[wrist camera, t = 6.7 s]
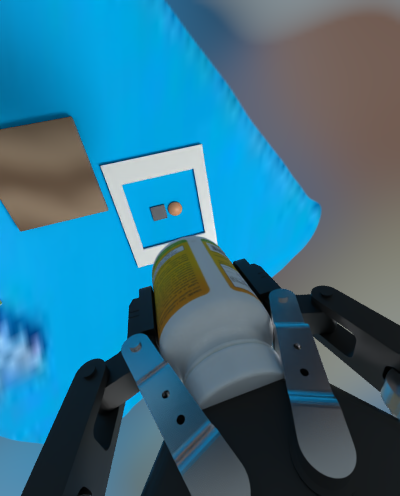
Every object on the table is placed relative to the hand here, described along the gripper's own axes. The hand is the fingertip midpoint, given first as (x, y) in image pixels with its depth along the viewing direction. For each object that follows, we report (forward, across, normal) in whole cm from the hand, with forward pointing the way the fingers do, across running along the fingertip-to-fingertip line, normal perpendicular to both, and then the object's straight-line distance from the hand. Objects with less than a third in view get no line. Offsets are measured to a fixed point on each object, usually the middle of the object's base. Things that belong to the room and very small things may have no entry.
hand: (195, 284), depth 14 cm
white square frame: (+17, 0, 0) cm, 17 cm away
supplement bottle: (+2, 0, 0) cm, 2 cm away
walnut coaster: (+17, +12, -7) cm, 22 cm away
